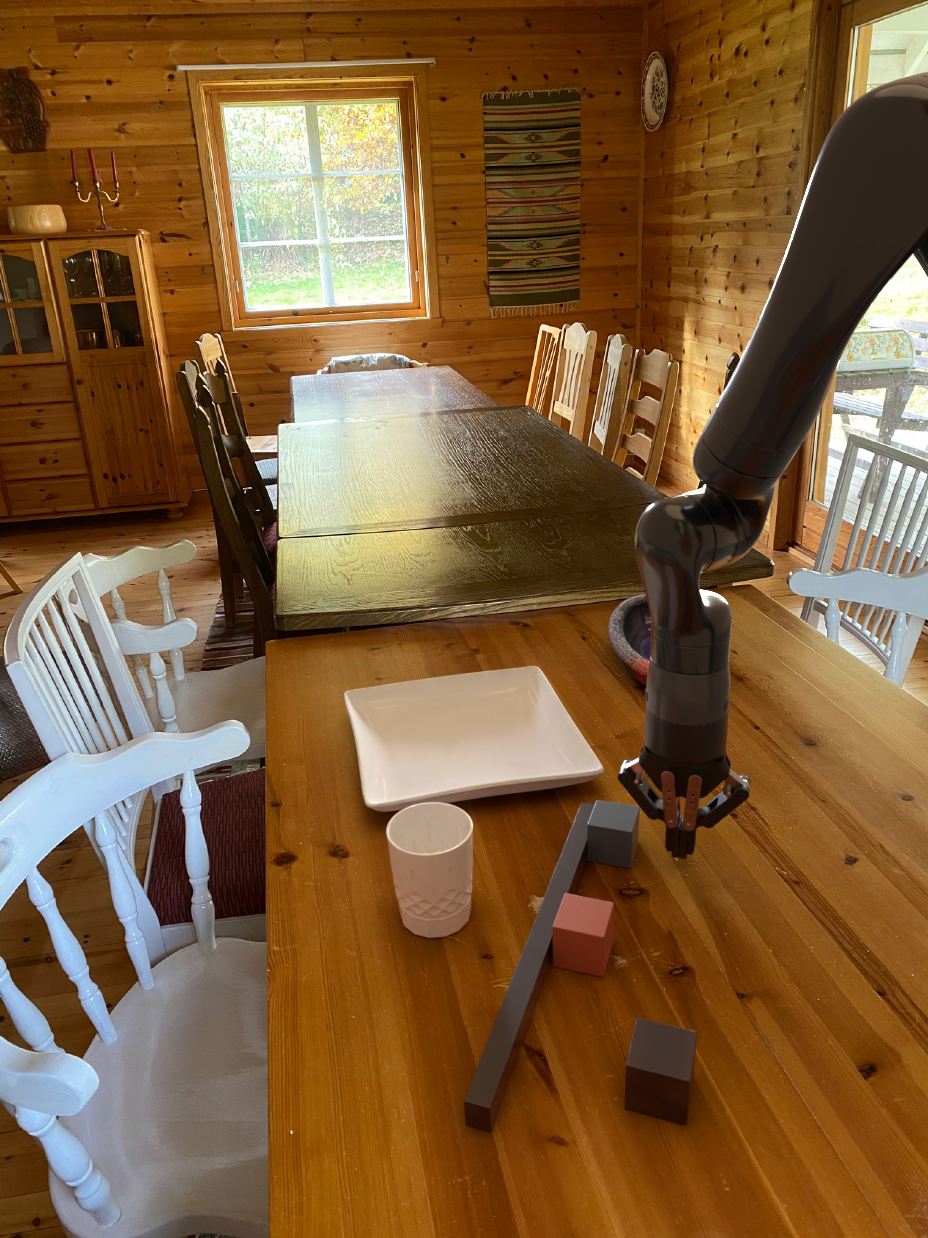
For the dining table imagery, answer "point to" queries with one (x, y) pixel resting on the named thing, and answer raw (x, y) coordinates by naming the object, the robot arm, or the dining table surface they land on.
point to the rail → (525, 985)
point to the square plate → (465, 738)
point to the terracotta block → (583, 934)
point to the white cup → (432, 867)
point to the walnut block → (660, 1070)
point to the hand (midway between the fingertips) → (679, 853)
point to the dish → (632, 635)
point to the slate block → (613, 833)
